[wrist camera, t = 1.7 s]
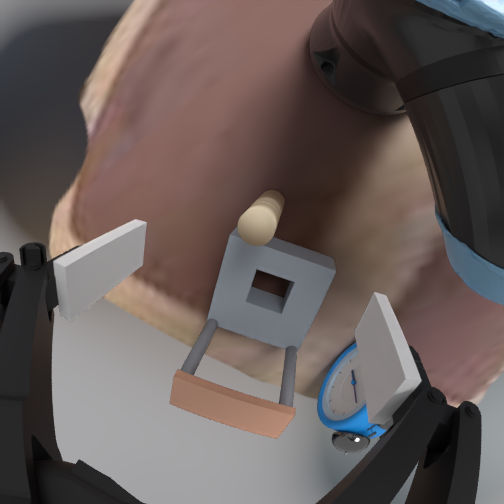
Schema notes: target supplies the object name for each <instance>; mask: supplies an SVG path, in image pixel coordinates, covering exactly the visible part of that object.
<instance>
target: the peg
mask: <svg viewBox="0 0 504 504" xmlns="http://www.w3.org/2000/svg"><path fill="white" fill-rule="evenodd" d="M284 203H285V200H284V197H283V195H282V194H281V193H280V192H279V191H277V190H274V189H271V190H267V191H265V192H264V193H263V194H262V195H261V196H260V197H259V198H258V199H257V200H256V201H255V202H254V203H253V204H252V205H251V206H250V207H249V209H248V210H247V211H246V212H245V213H244V214H243V215H242V216H241V217H240V219H239V221H238V233H239V235H240V237H241V238H242V240H243V241H244V242H246V243H247V244H249V245H253V246H262V245H265V244H267V243H268V242H269V241H270V240H271V239H272V238H273V236H274V233H275V230H276V227H277V224H278V222H279V219H280V216H281V213H282V210H283V207H284Z"/></svg>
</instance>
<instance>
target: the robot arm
mask: <svg viewBox="0 0 504 504" xmlns="http://www.w3.org/2000/svg"><path fill="white" fill-rule="evenodd" d="M309 51H310V57H311V61H312V64H313V67H314V69H315V71H316V73H317V75H318V76H319V78H320V80H321V81H322V82H323V84H324V85H325V86H326V87H327V88H328V89H329V90H330V91H331V92H332V93H333V94H334V95H335V96H336V97H338V98H339V99H340V100H342V101H343V102H345V103H346V104H348V105H350V106H352V107H354V108H356V109H358V110H361V111H364V112H367V113H371V114H376V115H396V114H401V113H404V112H407V114H408V117H409V119H410V122H411V124H412V127H413V129H414V132H415V135H416V138H417V140H418V143H419V146H420V149H421V152H422V155H423V158H424V161H425V165H426V168H427V172H428V175H429V179H430V183H431V187H432V191H433V195H434V200H435V214H436V218H437V221H438V223H439V225H440V227H441V229H442V233H443V237H444V242H445V247H446V252H447V256H448V259H449V262H450V264H451V266H452V268H453V269H454V271H455V272H456V273H457V274H458V275H459V276H460V277H461V278H462V280H463V281H464V283H465V284H466V285H467V286H468V287H469V288H471V289H472V290H473V291H475V292H476V293H477V294H479V295H481V296H482V297H484V298H486V299H488V300H490V301H493V302H495V303H498V304H501V305H504V0H333V3H331V4H330V5H329V6H328V7H327V8H325V9H324V10H323V11H322V12H321V13H320V14H319V15H318V17H317V18H316V20H315V22H314V24H313V26H312V29H311V33H310V43H309ZM146 225H147V222H144V221H140V220H137V219H135V220H133V221H131V222H129V223H127V224H124V225H122V226H120V227H118V228H116V229H114V230H112V231H110V232H108V233H106V234H104V235H102V236H100V237H98V238H96V239H94V240H92V241H90V242H88V243H86V244H84V245H80V246H76V247H74V248H72V249H70V250H69V251H66V252H64V253H63V254H61V255H59V256H57V257H55V258H53V259H51V260H50V261H48V262H47V258H46V246H45V245H43V244H42V243H37V242H36V243H35V242H33V243H28V244H25V245H23V246H22V247H21V248H20V249H19V250H20V259H21V265H16V264H14V257H13V255H12V254H11V253H8V252H0V504H145V503H142V502H140V501H139V500H138V499H136V498H135V497H134V496H132V495H131V494H130V493H128V492H127V491H126V490H124V489H123V488H122V487H121V486H120V485H118V484H117V483H116V482H115V481H114V480H112V479H111V478H110V477H108V476H106V475H104V474H102V473H101V472H99V471H97V470H95V469H94V468H92V467H91V466H89V465H87V464H86V463H84V462H83V461H81V460H78V461H77V463H76V464H73V463H69V462H65V461H63V460H62V457H61V454H60V451H59V449H58V446H57V442H56V436H55V427H54V418H53V404H52V378H51V377H52V370H51V369H52V366H51V365H52V338H53V323H54V311H53V308H55V307H56V306H57V305H59V311H60V315H61V316H62V317H64V318H65V319H67V320H69V321H71V322H72V321H74V320H75V319H76V318H77V317H78V316H80V315H81V314H82V313H83V312H84V311H86V310H87V309H88V308H89V307H90V306H92V305H93V304H94V303H95V302H97V301H98V300H99V299H100V298H101V297H103V296H104V295H105V294H106V293H108V292H109V291H110V290H111V289H113V288H114V287H115V286H117V285H118V284H119V283H120V282H122V281H123V280H124V279H125V278H127V277H128V276H129V275H131V274H132V273H133V272H134V271H136V270H137V269H138V268H140V267H141V266H142V265H143V255H144V244H145V234H146ZM354 333H355V339H356V344H357V349H358V355H359V360H360V366H361V372H362V378H363V384H364V391H365V398H366V405H367V413H368V421H369V423H373V424H382V425H384V424H385V423H386V422H387V421H388V420H389V419H390V418H391V417H392V418H393V424H392V425H391V426H390V427H389V428H388V429H387V430H386V431H385V432H384V433H383V434H382V435H381V436H380V440H379V441H378V442H377V443H376V444H375V445H374V447H373V448H372V449H371V450H370V452H368V453H367V454H366V456H365V457H364V458H363V459H362V460H361V461H360V462H359V463H358V464H357V465H356V466H355V467H354V469H352V470H351V471H350V473H349V474H348V475H347V476H346V477H344V478H343V479H342V480H341V481H340V482H339V483H338V484H337V485H336V486H335V487H334V488H333V489H332V490H331V491H330V492H329V493H328V494H327V495H325V496H324V497H323V498H322V499H321V500H319V501H318V502H317V503H316V504H390V503H391V501H392V500H393V499H394V497H395V496H396V494H397V493H398V492H399V490H400V489H401V487H402V486H403V484H404V483H405V482H406V480H407V479H408V477H409V475H410V474H411V472H412V471H413V469H414V468H415V466H416V464H417V463H418V466H417V469H416V473H415V476H414V479H413V482H412V485H411V488H410V491H409V493H408V496H407V499H406V502H405V504H475V499H476V493H477V486H478V478H479V470H480V455H481V413H480V411H479V409H478V407H477V406H476V405H475V404H473V403H472V402H469V401H464V402H462V403H461V404H460V406H459V407H458V408H456V407H453V406H450V405H448V404H447V400H446V397H445V396H444V394H443V393H442V392H441V391H440V390H438V389H436V388H435V387H431V385H430V382H429V380H428V377H427V374H426V372H425V369H423V368H424V367H423V364H422V363H421V360H420V357H419V355H418V353H417V352H416V351H415V349H414V348H413V347H412V346H408V344H407V342H406V339H405V337H404V334H403V332H402V330H401V327H400V325H399V323H398V321H397V318H396V316H395V314H394V312H393V309H392V307H391V305H390V303H389V301H388V299H387V296H386V295H383V294H380V293H377V292H374V293H373V295H372V297H371V299H370V301H369V304H368V306H367V308H366V310H365V312H364V314H363V316H362V318H361V320H360V321H359V323H358V325H357V327H356V329H355V331H354ZM418 461H419V462H418Z"/></svg>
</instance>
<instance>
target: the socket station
mask: <svg viewBox="0 0 504 504" xmlns="http://www.w3.org/2000/svg"><path fill="white" fill-rule="evenodd" d="M257 269H258V270H261V271H263V272H266V273H269V274H272V275H275V276H278V277H281V278H284V279H287V280H290V284H289V286H288V289H287V291H286V294H285V296H284V298H283V297H280V296H278V295H275V294H272V293H269V292H266V291H263V290H260V289H257V288H254V287H251V286H252V283H253V280H254V277H255V274H256V271H257ZM335 273H336V267H335V263H334V260H333V258H332V257H329V256H327V255H324V254H321V253H318V252H315V251H312V250H310V249H307V248H304V247H301V246H298V245H295V244H292V243H289V242H287V241H284V240H281V239H278V238H275V237H273V238H272V239H271V240H270V241H269V242H268V243H267V244H265V245H262V246H253V245H249V244H247V243H246V242H244V241H243V240H242V238H241V237H240V235H239V233H238V226H237V227H236V228H235V229H234V230H233V232H232V233H231V234H230V237H229V240H228V244H227V247H226V251H225V254H224V258H223V262H222V265H221V269H220V273H219V276H218V280H217V284H216V288H215V291H214V295H213V299H212V303H211V306H210V310H209V314H208V318H207V323H206V325H205V326H204V328H203V330H202V332H201V333H200V335H199V337H198V339H197V341H196V342H195V344H194V346H193V348H192V350H191V352H190V353H189V355H188V357H187V359H186V361H185V363H184V364H183V366H182V368H181V370H177V371H176V373H175V375H174V379H173V385H172V391H171V397H170V404H172V405H174V406H177V407H179V408H181V409H184V410H186V411H189V412H192V413H194V414H197V415H199V416H202V417H205V418H208V419H211V420H213V421H216V422H219V423H222V424H225V425H228V426H231V427H235V428H238V429H242V430H245V431H249V432H252V433H255V434H259V435H263V436H267V437H271V438H275V439H277V438H278V437H279V436H280V435H281V433H282V432H283V431H284V429H285V428H286V427H287V426H288V424H289V423H290V422H291V420H292V419H293V418H294V416H295V408H293V396H294V385H295V372H296V358H297V351H298V349H299V348H300V346H301V344H302V342H303V340H304V338H305V336H306V334H307V332H308V330H309V328H310V326H311V324H312V322H313V320H314V318H315V316H316V314H317V312H318V310H319V308H320V306H321V304H322V302H323V300H324V297H325V295H326V293H327V291H328V289H329V287H330V285H331V282H332V280H333V278H334V276H335ZM217 326H218V327H221V328H224V329H226V330H229V331H232V332H235V333H238V334H241V335H243V336H246V337H249V338H252V339H255V340H258V341H261V342H264V343H267V344H270V345H274V346H277V347H280V348H283V349H286V353H285V362H284V370H283V377H282V385H281V392H280V401H279V404H278V403H274V402H271V401H267V400H264V399H260V398H257V397H254V396H250V395H247V394H244V393H241V392H238V391H234V390H232V389H229V388H226V387H223V386H220V385H217V384H214V383H212V382H209V381H206V380H204V379H201V378H198V377H196V376H193V375H194V373H195V371H196V369H197V367H198V365H199V362H200V361H201V359H202V357H203V355H204V353H205V351H206V349H207V347H208V345H209V342H210V340H211V338H212V336H213V334H214V332H215V330H216V328H217Z"/></svg>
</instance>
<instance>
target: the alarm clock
mask: <svg viewBox="0 0 504 504" xmlns="http://www.w3.org/2000/svg"><path fill="white" fill-rule="evenodd" d="M317 410H318V415H319V418H320V420H321V422H322V423H323V424H324V425H325V426H327V427H328V428H331V429H333V430H336V431H338V432H334V433H333V435H332V443H333V445H334V447H336V449H338V450H339V451H341V452H345V455H347V453H358V452H361V451H363V450H364V449H366V448H367V447H368V445H369V443H370V441H371V439H372V438H375V437H378V436H380V435H382V434H383V433H384V432H385V431H386V430H387V429H388V428H389V427H390V426H391V425H392V424H393V418H392V417H391V418H390V419H389V420H388V421H387V422H386V423H385V424H384V425H382V424H373V423H369V421H368V413H367V405H366V398H365V391H364V384H363V378H362V372H361V366H360V360H359V355H358V349H357V344H356V343H354V344H353V345H351V346H350V347H349V348H348V349H347V350H345V351H344V352H343V353H342V354H341V355H340V357H339V358H338V359H337V360H336V361H335V363H334V364H333V366H332V367H331V369H330V370H329V372H328V374H327V375H326V377H325V379H324V381H323V384H322V386H321V389H320V392H319V396H318V403H317Z"/></svg>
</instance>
